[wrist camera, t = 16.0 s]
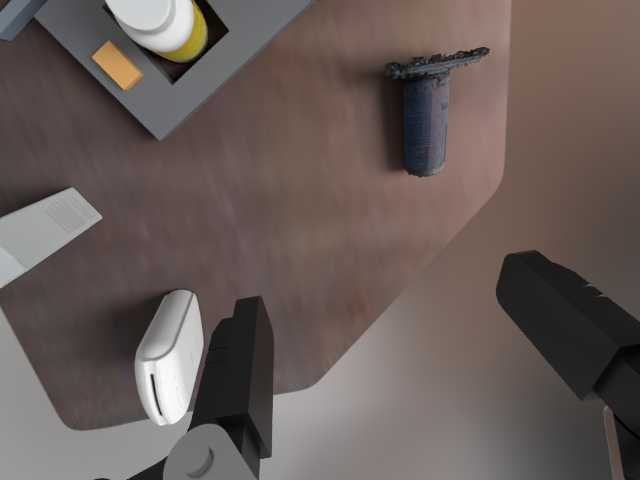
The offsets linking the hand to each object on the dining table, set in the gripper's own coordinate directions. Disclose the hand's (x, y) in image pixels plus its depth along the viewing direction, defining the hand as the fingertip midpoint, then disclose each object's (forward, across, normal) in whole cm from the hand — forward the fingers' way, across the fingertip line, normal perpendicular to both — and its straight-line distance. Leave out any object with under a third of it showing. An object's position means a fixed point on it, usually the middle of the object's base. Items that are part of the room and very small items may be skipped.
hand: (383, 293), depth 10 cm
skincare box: (+24, +28, +5) cm, 37 cm away
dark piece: (+28, -12, +2) cm, 30 cm away
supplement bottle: (+28, +11, -10) cm, 31 cm away
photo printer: (+22, +21, +22) cm, 37 cm away
